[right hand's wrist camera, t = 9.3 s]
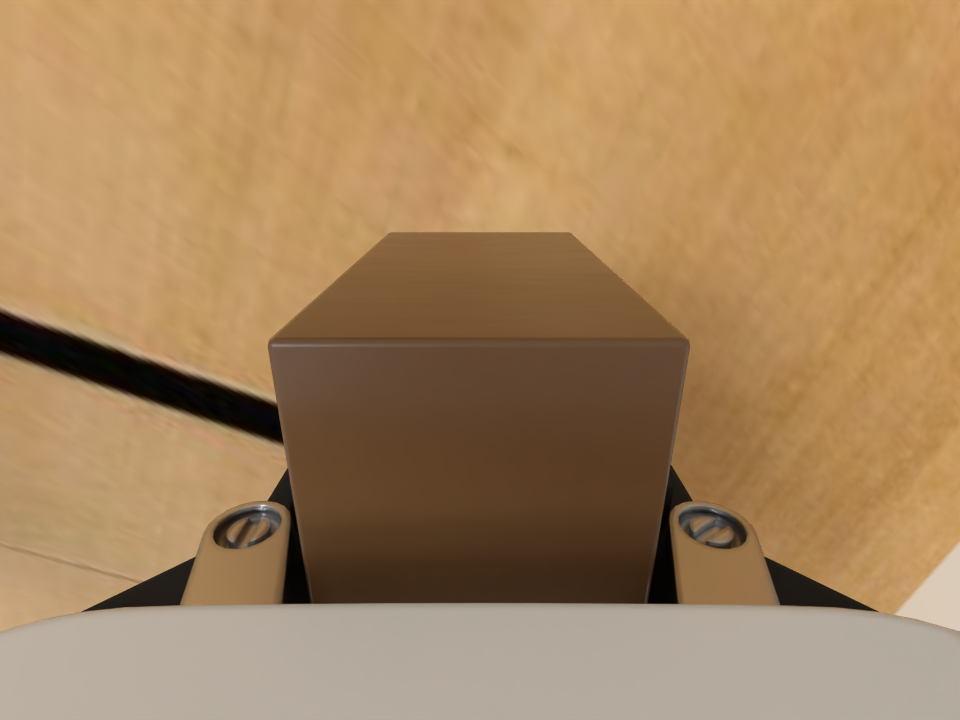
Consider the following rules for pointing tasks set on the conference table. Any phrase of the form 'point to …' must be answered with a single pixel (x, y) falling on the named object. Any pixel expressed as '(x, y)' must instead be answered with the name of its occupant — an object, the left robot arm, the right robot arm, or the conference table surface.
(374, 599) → the beam
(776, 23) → the conference table surface
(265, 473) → the conference table surface
